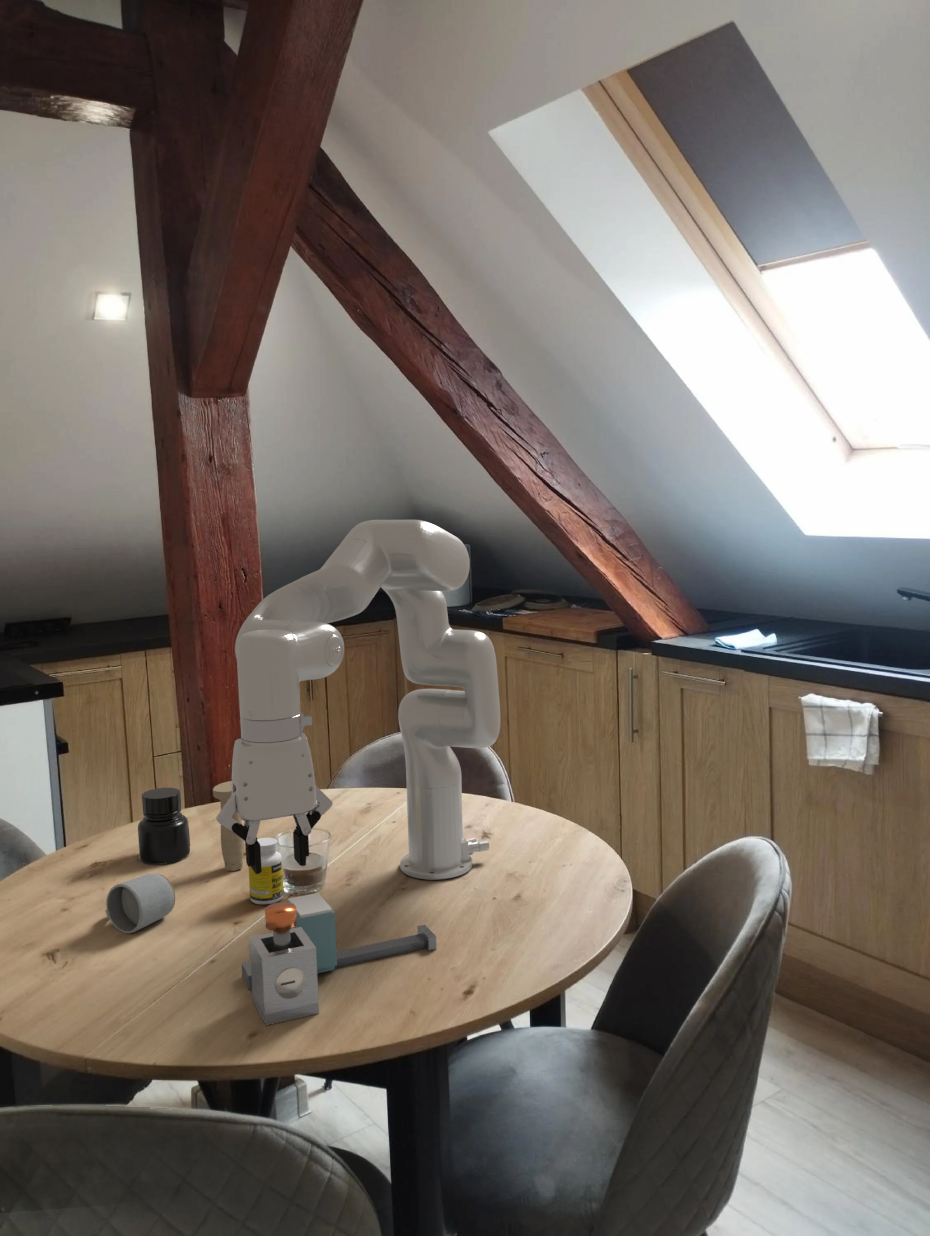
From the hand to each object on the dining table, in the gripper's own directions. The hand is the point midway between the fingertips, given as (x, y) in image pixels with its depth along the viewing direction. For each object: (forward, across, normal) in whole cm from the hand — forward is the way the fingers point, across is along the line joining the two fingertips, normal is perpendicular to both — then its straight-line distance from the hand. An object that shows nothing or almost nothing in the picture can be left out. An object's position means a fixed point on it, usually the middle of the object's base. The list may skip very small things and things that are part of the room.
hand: (278, 865), depth 139 cm
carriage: (+19, -6, -9) cm, 22 cm away
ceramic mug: (+20, +14, -37) cm, 44 cm away
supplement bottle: (+20, -6, -36) cm, 42 cm away
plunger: (+14, 0, 0) cm, 14 cm away
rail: (+19, -10, -9) cm, 24 cm away
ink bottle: (+20, +6, -64) cm, 68 cm away
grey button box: (+19, 0, 0) cm, 19 cm away
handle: (+20, -4, -52) cm, 56 cm away
